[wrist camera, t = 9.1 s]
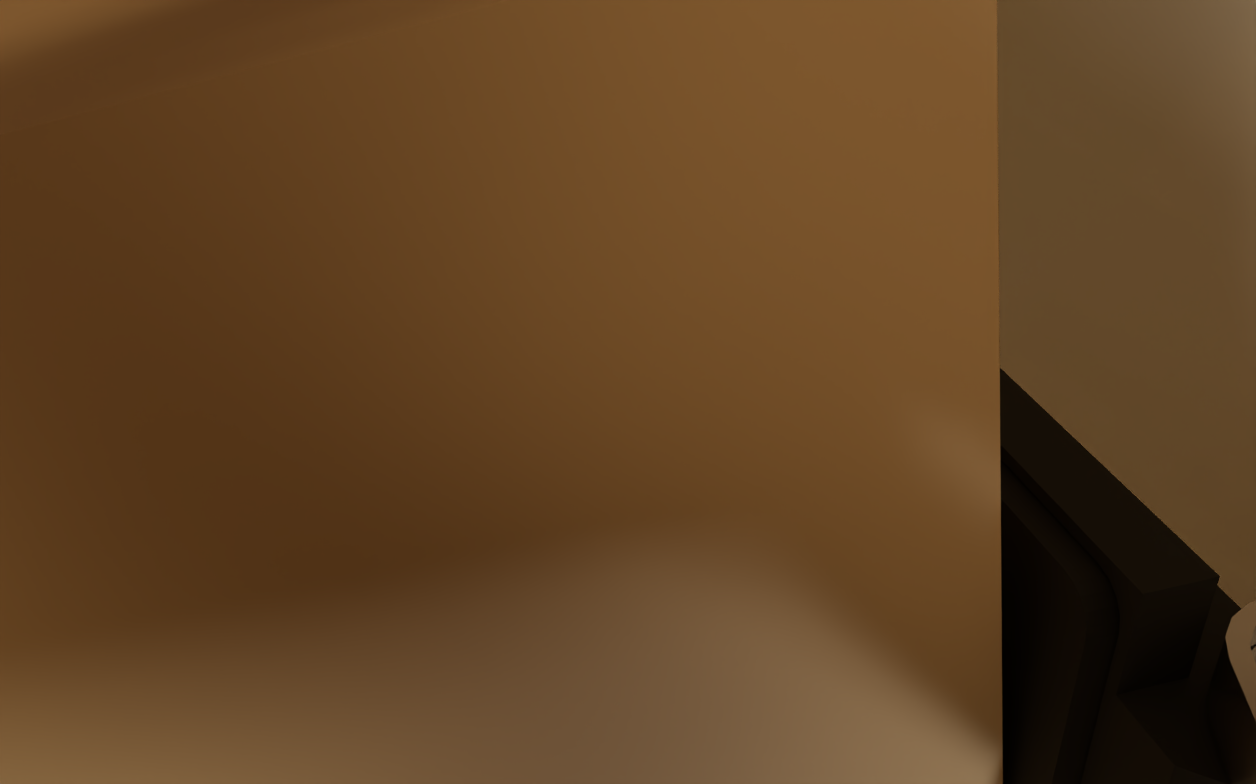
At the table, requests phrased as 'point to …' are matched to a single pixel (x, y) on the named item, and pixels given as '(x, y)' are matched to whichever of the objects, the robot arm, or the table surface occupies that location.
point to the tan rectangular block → (499, 392)
